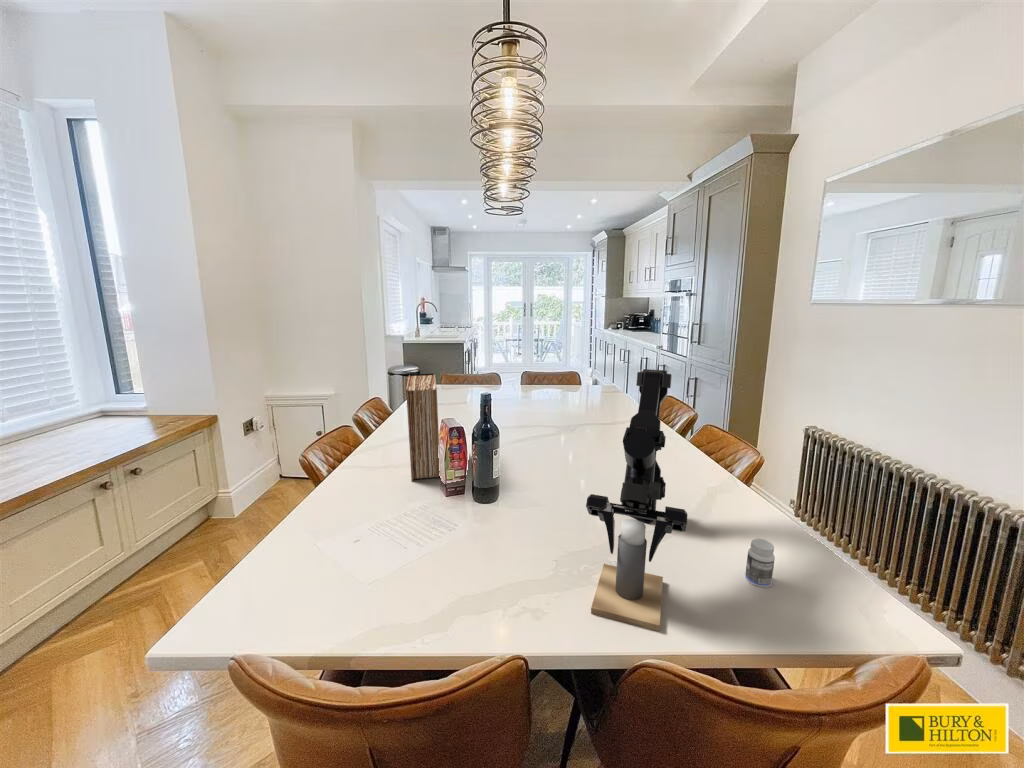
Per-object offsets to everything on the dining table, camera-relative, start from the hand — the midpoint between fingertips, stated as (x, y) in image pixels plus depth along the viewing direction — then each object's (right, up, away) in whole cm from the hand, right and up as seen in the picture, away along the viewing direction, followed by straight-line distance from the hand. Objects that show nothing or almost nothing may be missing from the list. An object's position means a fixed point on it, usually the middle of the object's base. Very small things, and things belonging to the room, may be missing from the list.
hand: (630, 557), depth 80 cm
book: (-52, +4, +68) cm, 86 cm away
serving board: (+1, -9, +3) cm, 10 cm away
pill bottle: (+28, -8, +8) cm, 31 cm away
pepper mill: (+1, -8, +3) cm, 8 cm away
